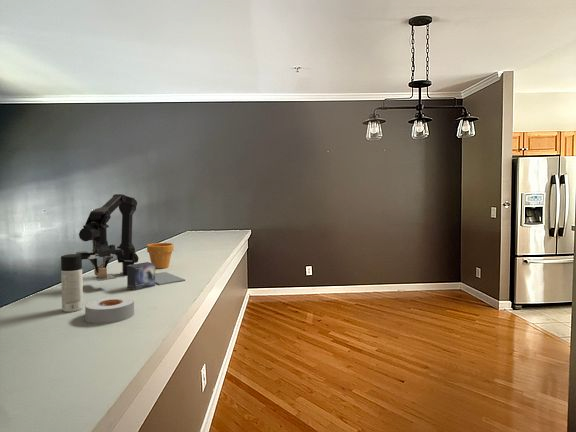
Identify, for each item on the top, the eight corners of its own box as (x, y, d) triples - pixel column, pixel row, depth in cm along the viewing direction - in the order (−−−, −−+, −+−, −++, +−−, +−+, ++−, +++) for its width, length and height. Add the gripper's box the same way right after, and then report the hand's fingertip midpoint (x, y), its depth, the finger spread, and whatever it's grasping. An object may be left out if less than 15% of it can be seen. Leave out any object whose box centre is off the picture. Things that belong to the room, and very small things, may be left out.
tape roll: (89, 312, 133) (88, 298, 133) (134, 307, 139) (134, 294, 138) (82, 326, 119) (81, 311, 119) (133, 321, 124) (133, 306, 124)
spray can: (87, 307, 138) (86, 254, 137) (75, 312, 131) (73, 257, 130) (70, 306, 139) (69, 253, 137) (57, 312, 132) (56, 256, 131)
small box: (134, 290, 161) (134, 267, 160) (126, 288, 165) (126, 265, 164) (156, 286, 169) (155, 263, 169) (148, 283, 173) (147, 261, 172)
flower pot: (146, 265, 214) (146, 243, 213) (171, 263, 220) (171, 242, 219) (148, 270, 201) (147, 246, 200) (175, 268, 207) (175, 245, 206)
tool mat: (140, 276, 187) (140, 275, 187) (165, 273, 196) (165, 271, 196) (159, 285, 171) (159, 283, 171) (185, 280, 180) (185, 279, 180)
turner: (89, 275, 169) (89, 266, 169) (105, 273, 174) (105, 264, 173) (98, 281, 159) (98, 271, 158) (115, 278, 163) (115, 269, 163)
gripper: (81, 242, 155) (82, 278, 156) (127, 238, 167) (128, 272, 168) (74, 239, 163) (75, 274, 164) (118, 236, 175) (119, 268, 176)
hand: (100, 272), depth 168 cm, fingers closed on turner, 3 cm apart
